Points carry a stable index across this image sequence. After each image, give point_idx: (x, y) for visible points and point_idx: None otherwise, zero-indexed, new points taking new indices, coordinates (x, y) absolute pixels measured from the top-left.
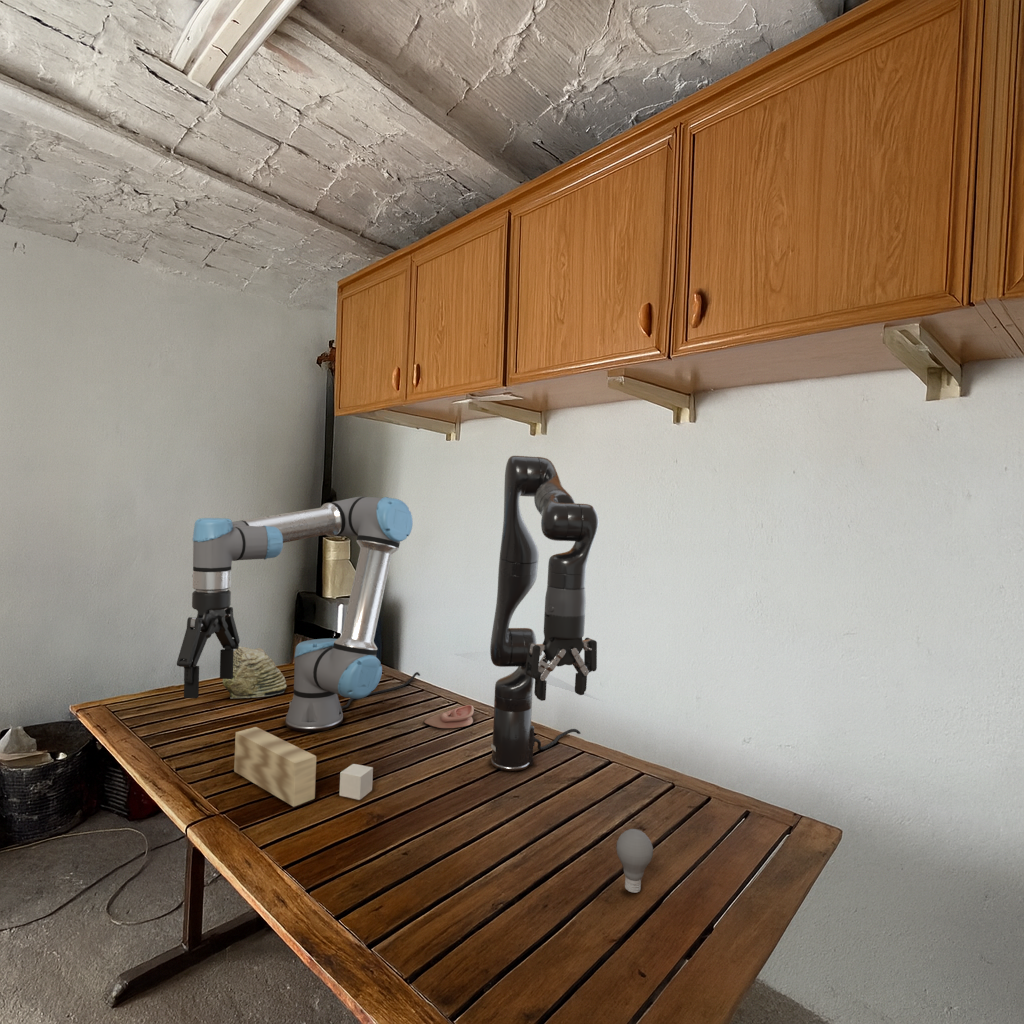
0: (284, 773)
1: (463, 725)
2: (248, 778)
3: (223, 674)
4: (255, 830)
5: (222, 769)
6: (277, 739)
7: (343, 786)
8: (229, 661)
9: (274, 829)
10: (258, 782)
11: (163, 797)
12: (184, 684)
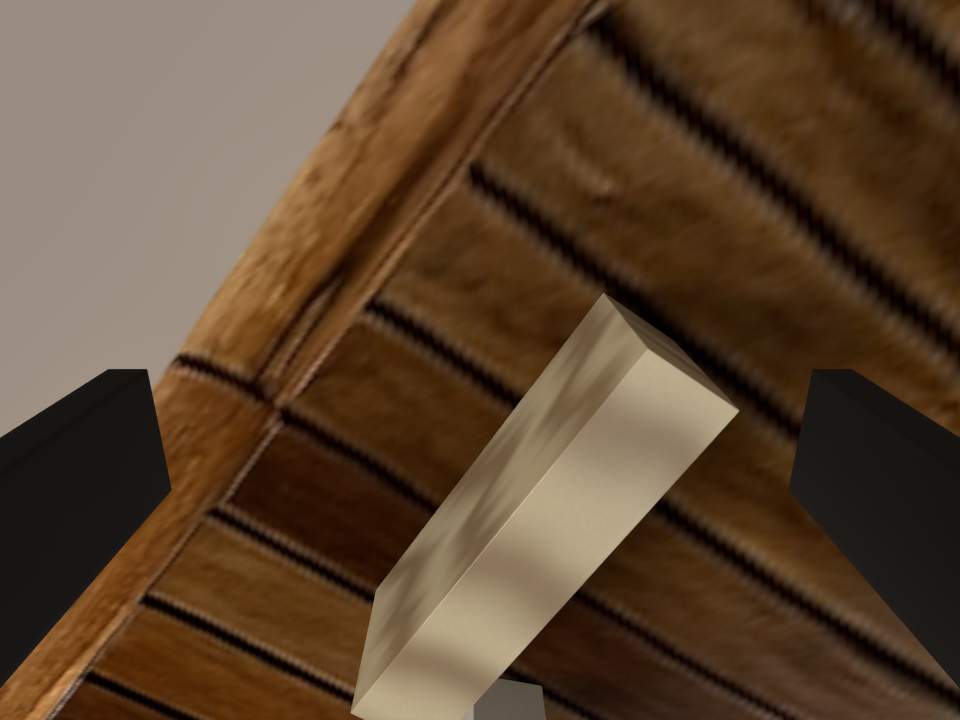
0: (395, 618)
1: None
2: (535, 384)
3: (831, 431)
4: (219, 550)
5: (619, 234)
6: (575, 570)
7: (469, 710)
8: (926, 612)
9: (241, 591)
10: (494, 442)
11: (331, 142)
12: (9, 436)
